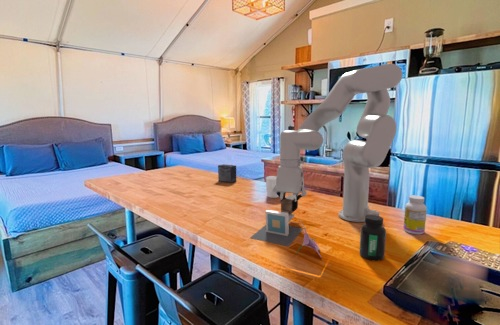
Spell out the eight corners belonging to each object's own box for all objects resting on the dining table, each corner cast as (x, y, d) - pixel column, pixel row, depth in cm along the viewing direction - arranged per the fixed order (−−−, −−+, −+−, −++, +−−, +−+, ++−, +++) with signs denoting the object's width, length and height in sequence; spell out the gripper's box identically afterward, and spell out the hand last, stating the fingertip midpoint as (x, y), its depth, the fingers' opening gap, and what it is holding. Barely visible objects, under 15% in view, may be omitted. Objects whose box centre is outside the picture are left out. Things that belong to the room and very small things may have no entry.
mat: (303, 229, 104) (303, 228, 104) (288, 247, 90) (288, 246, 90) (268, 223, 111) (268, 222, 111) (249, 239, 97) (249, 238, 97)
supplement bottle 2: (405, 226, 107) (408, 193, 104) (425, 230, 102) (429, 196, 100) (401, 232, 101) (404, 197, 99) (422, 236, 97) (426, 200, 95)
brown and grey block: (301, 208, 113) (301, 196, 112) (286, 223, 99) (286, 210, 98) (285, 205, 116) (285, 194, 115) (268, 220, 102) (268, 207, 101)
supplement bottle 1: (376, 263, 80) (378, 223, 78) (354, 254, 85) (356, 216, 83) (388, 256, 84) (391, 218, 82) (367, 248, 89) (369, 211, 87)
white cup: (280, 198, 144) (280, 179, 142) (264, 197, 145) (264, 178, 143) (281, 194, 151) (281, 176, 150) (267, 193, 153) (267, 175, 151)
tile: (288, 233, 99) (288, 213, 97) (287, 236, 98) (286, 215, 96) (268, 229, 103) (267, 209, 101) (266, 232, 101) (265, 211, 99)
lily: (312, 273, 77) (330, 243, 77) (277, 248, 82) (293, 219, 82) (320, 266, 88) (335, 239, 88) (288, 244, 93) (303, 219, 93)
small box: (237, 181, 183) (236, 165, 181) (231, 183, 177) (230, 166, 176) (224, 179, 188) (223, 163, 187) (217, 181, 183) (217, 165, 181)
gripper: (314, 163, 107) (312, 210, 110) (273, 160, 114) (273, 204, 117) (308, 166, 100) (307, 216, 103) (265, 163, 108) (265, 209, 111)
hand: (289, 209), depth 110 cm, fingers closed on brown and grey block, 3 cm apart
